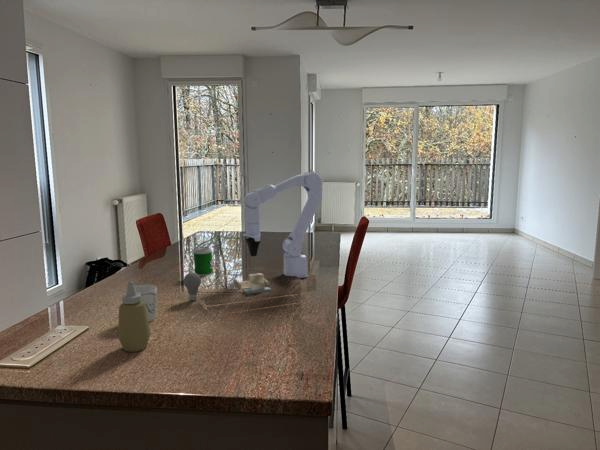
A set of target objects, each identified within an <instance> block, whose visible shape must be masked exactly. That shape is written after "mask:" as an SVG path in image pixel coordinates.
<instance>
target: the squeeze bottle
mask: <svg viewBox="0 0 600 450" xmlns="http://www.w3.org/2000/svg"><path fill="white" fill-rule="evenodd" d="M135 286H136V285H135V282H134V281H128V282H127V288H126V289H127V290H126V293H125V294H124V295H122V298H121V301H122V303H121V304H120V305H119V306H118V326H117V327H118V328H117V330H118V333H117V338H118V340H119V343H120V344H121V346H122V349H123V350H124V351H126V352H129V353H130V352H131V353H134V352H139V351H142V350H145V349H146V347H148V344H149V341H150V336H151V327H150V322H149V320H148V315H147V309H146V304H145V303H144V302H143V301H141V294H140V293H137V292H136V289H135Z"/></svg>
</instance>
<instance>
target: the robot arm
mask: <svg viewBox="0 0 600 450" xmlns="http://www.w3.org/2000/svg"><path fill="white" fill-rule="evenodd" d="M322 185H323V181H322V180H321V177H320V175H319V174H317V173H316V172H308V171H306V172H304V173H299V174H297V175H294V176H292V177H291V178H287V179H285V180H284V181H281V182H279V183H277V184H275V185H273V184H270V183H269V184H268V183H267V184H264V185H263V186H262V187H261V188H259V189H253V192H248V193H246V194H245V195H244V198H243V203H244V205H245V206H244V210H245V211H244V217H245V219H244V221H245V223H244V224H245V225H244V226H245V233H243V234H242V236H243V237H248V238H245V242H246V244H247V247H248V251H249V255H250V257H257V255H258V250H259V246H260V244H261V242H262V239H261V234H262V233H261V224H260V223H261V222H260V215H261V214H260V205H261V204H264V203H266V202H268V201H271V200H274V199H275V198H277V197H278V194H279V193H281V192H283V191H286V190H290V189H291V188H294V187H303V189H304V190H305V192H306V193H307V196H308V197H307V200H306V201H305V205H304V206H303V208H302V211H301V213H300V215H299V217H298V219H297V221H296V223H295V225H294V227H293V229H292V231H291V232H290V233H289V234H288V236H287V237H286V238H285V239H284V240H283V242H282V249H283V251H284V253H283V274H284V276H287V277H296V278H298V279H301V278H308V277H309V275H308V260H307V255H305V254H301V253H302V251H303V244H304V242H305V239H304V238H305V237H304V236H305V235H306V233H307V230H308V228H309V226H310V224H311V222H312V220H313V218H314V216H315V214H316V211H318V210H317V209H318V208H319V206H320V203H321V201H322V199H323V188H322Z"/></svg>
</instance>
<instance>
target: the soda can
mask: <svg viewBox="0 0 600 450" xmlns="http://www.w3.org/2000/svg"><path fill="white" fill-rule="evenodd" d="M193 264H194V265H193V266H194V273H197V274H198V275H199V276H200V277H204V276H210V275H212V274H213V273H214V267H213V265H214V264H213V250H212V248H210V246H209V247H208V246H201V247H200V246H199V247H196V248H195V249H194V250H193Z"/></svg>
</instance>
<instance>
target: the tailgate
mask: <svg viewBox="0 0 600 450" xmlns="http://www.w3.org/2000/svg"><path fill="white" fill-rule="evenodd" d="M272 291H273V289H272V288H271V287H268V286H265V289H263V290H255V291H252V290H250V288H246V289H243V292H244V293H245V294H247V295H250V294H255V293H256V294H257V293H263V292H264V293H265V292H272Z"/></svg>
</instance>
